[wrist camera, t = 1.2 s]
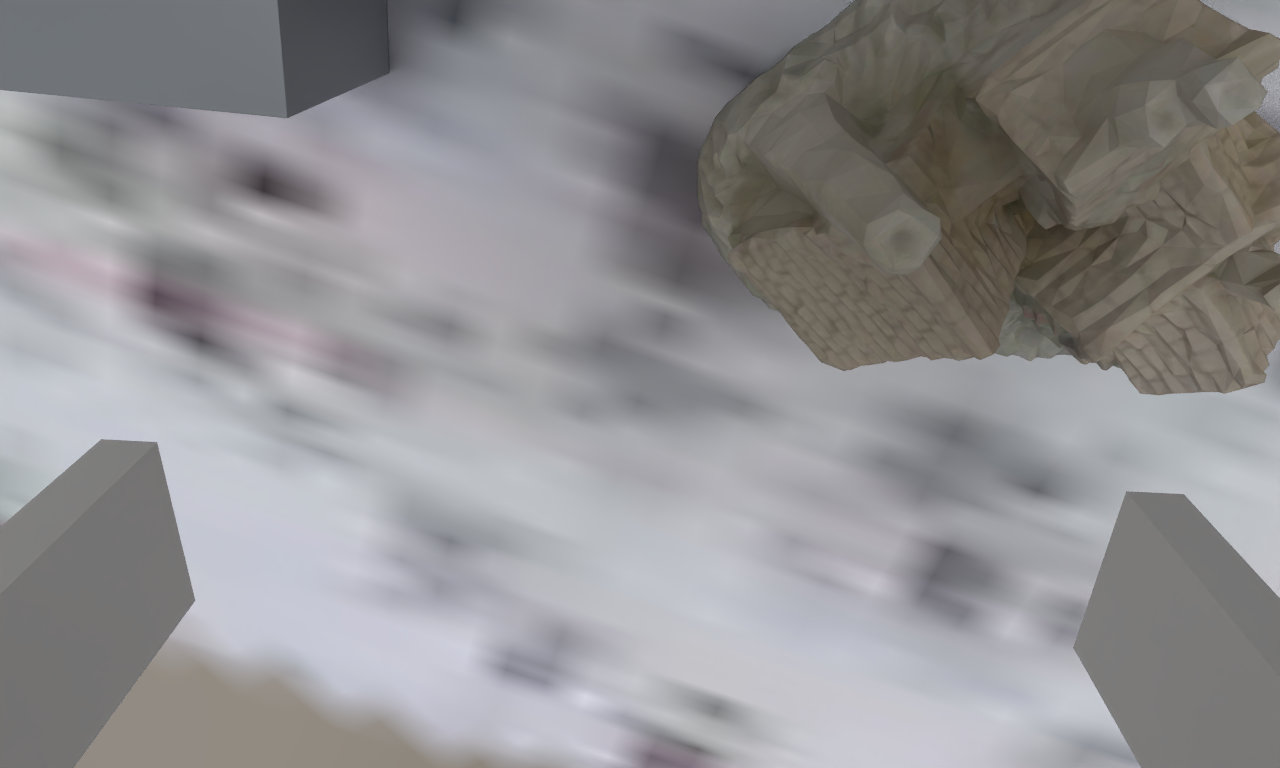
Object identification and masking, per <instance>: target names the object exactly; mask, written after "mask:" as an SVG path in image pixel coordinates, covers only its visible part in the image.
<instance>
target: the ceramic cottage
mask: <svg viewBox="0 0 1280 768" xmlns="http://www.w3.org/2000/svg"><path fill="white" fill-rule="evenodd" d="M1279 60H1280V39H1279V38H1277V37H1275V36H1273V35H1272V34H1270V33H1266V32H1261V31H1256V30H1251V29H1248V28H1246V27H1244V26H1242V25H1240V24H1238V23H1237V22H1235V21H1233V20H1231V19H1229V18H1227V17H1226V16H1224V15H1222V14H1220V13H1219V12H1217V11H1215V10H1213V9H1212V8H1210V7H1208V6H1207V5H1205V4H1203V3H1202V2H1201V1H1200V0H855V1H854V2H853V3H851V4H850V5H849V6H848V7H847V8H846V9H845V10H844V11H842V12H840V13H839V15H838V16H837V17H836V18H834V19H833V20H832V21H831V22H830V23H829V24H827V25H826V26H825V27H824V28H822V29H821V30H819V31H818V32H816V33H814V34H812V35H810V36H809V37H807V38H806V39H805V40H803V41H802V42H800V43H799V44H798V45H796V46H794V47H793V48H792V49H791V51H790V52H789V53H788V54H787V55H786V56H785V57H784V58H783V60H782V61H780V62H779V63H777V64H776V65H775V66H773V67H772V68H770V69H769V70H768V71H766V72H765V73H764V74H761V75H760V76H758V77H757V78H756V79H755V80H754V81H753V82H752V83H751V84H750V85H749V86H748V87H747V88H746V89H745V90H744V91H742V92H741V93H740V94H739V95H737V96H736V97H735V98H734V99H732V100H731V101H730V102H728V103H727V104H726V105H725V107H724V108H723V109H722V110H721V112H720V113H719V114H718V115H717V116H716V118H715V120H714V122H713V124H712V127H711V129H710V131H709V134H708V136H707V138H706V140H705V142H704V144H703V146H702V148H701V149H700V152H699V155H700V157H698V160H697V162H698V180H697V198H698V203H699V208H700V209H701V211H702V221H701V224H702V225H703V226H704V228H705V230H706V231H707V232H708V234H709V235H710V237H711V238H712V240H713V242H714V243H715V245H716V247H717V248H718V250H719V252H720V254H721V255H722V257H723V258H724V260H725V261H726V263H727V264H728V265H729V266H730V267H731V268H732V269H733V270H734V272H735V273H736V274H737V275H738V277H739V278H740V279H741V280H742V282H743V283H744V284H745V285H746V287H747V288H748V289H749V291H750V292H751V293H752V295H753V296H756V297H759V298H761V299H762V300H763V302H764V303H765V304H766V305H767V307H768V308H770V309H774V310H777V311H779V312H780V313H781V314H782V316H783V317H784V318H785V320H786V321H787V323H788V324H789V325H790V326H791V328H792V329H793V330H794V331H795V333H796V334H797V335H798V336H799V338H800V339H801V340H802V341H803V342H804V343H805V344H806V345H807V346H808V347H809V348H810V350H811V351H812V352H813V353H814V354H815V355H816V357H817V358H818V359H819V360H820V361H821V362H822V363H825V364H827V365H830V366H833V367H835V368H838V369H840V370H843V371H845V370H852V369H854V368H857V367H859V366H863V365H872V364H879V363H884V362H886V361H893V362H898V361H904V360H909V359H912V358H916V357H920V356H922V357H928V358H929V359H930V360H936V359H940V358H950V359H954V360H958V361H960V360H964V359H968V358H973V357H975V358H977V359H980V360H981V359H983V358H986V357H988V356H990V355H993V354H994V353H996V354H999V355H1003V356H1009V355H1017V356H1020V357H1022V358H1024V359H1026V360H1029V361H1032V360H1033V359H1034V358H1035V357H1040V358H1052V357H1054V356H1055V355H1062V354H1066V355H1073V356H1074V357H1075V358H1076V359H1077V360H1078V361H1079V362H1080V363H1082V364H1087V363H1089V362H1091V363H1097V364H1098V365H1099V366H1100V368H1101V369H1102V370H1108V369H1109V368H1110V367H1112V366H1116V367H1118V368H1121V369H1122V370H1123V371H1124V372H1125V374H1126V375H1127V376H1128V378H1129V380H1130V381H1131V383H1132V384H1133V385H1134V386H1135V387H1136V389H1137V390H1138V391H1139V392H1140V394H1152V395H1163V394H1172V393H1194V392H1220V393H1228V392H1232V391H1236V390H1240V389H1243V388H1247V387H1250V386H1253V385H1257V384H1260V383H1263V382H1265V378H1266V374H1265V373H1264V372H1263V371H1264V370H1265V369H1266V368H1267V367H1268V366H1269V362H1268V359H1267V355H1268V354H1269V353H1270V352H1271V351H1272V350H1273V349H1274V348H1275V345H1276V342H1277V341H1278V340H1279V339H1280V255H1279V254H1278V253H1276V252H1274V244H1275V243H1277V242H1278V241H1279V240H1280V133H1279V132H1278V131H1277V130H1276V129H1275V128H1273V127H1272V126H1271V125H1270V124H1269V123H1267V122H1266V121H1265V120H1264V119H1263V118H1261V117H1260V116H1259V115H1258V114H1257V113H1256V112H1255V110H1256V109H1258V108H1259V107H1260V106H1261V104H1262V102H1263V100H1264V98H1265V96H1266V94H1267V91H1266V89H1265V88H1264V87H1263V86H1262V85H1261V80H1262V78H1263V77H1264V76H1265V75H1267V74H1269V73H1270V72H1272V71H1273V70H1275V69H1277V68H1278V65H1279Z"/></svg>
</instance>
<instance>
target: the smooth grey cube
mask: <svg viewBox="0 0 1280 768" xmlns="http://www.w3.org/2000/svg"><path fill="white" fill-rule="evenodd" d="M388 73H389V53H388V23H387V0H0V90H8V91H18V92H28V93H38V94H48V95H58V96H68V97H79V98H89V99H99V100H109V101H119V102H129V103H139V104H150V105H160V106H170V107H180V108H190V109H200V110H210V111H221V112H231V113H241V114H251V115H261V116H271V117H281V118H289V117H291V116H293V115H295V114H298V113H300V112H302V111H304V110H307V109H309V108H311V107H313V106H316V105H318V104H320V103H322V102H325V101H327V100H329V99H331V98H334V97H336V96H338V95H340V94H343V93H345V92H347V91H349V90H352V89H354V88H356V87H358V86H361V85H363V84H365V83H368V82H370V81H372V80H374V79H377V78H379V77H381V76H383V75H386V74H388Z"/></svg>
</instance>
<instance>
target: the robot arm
mask: <svg viewBox="0 0 1280 768" xmlns="http://www.w3.org/2000/svg"><path fill="white" fill-rule="evenodd" d="M194 601H195V598H194V594H193V590H192V586H191V581H190V577H189V573H188V569H187V565H186V561H185V557H184V552H183V548H182V544H181V540H180V536H179V532H178V527H177V523H176V519H175V515H174V511H173V507H172V503H171V498H170V494H169V490H168V486H167V482H166V478H165V473H164V469H163V465H162V461H161V457H160V453H159V449H158V444H157V442H142V441H122V440H102V439H101V440H100V441H99V442H98V443H97V444H96V445H94V446H93V447H92V448H91V449H90V450H89V451H87V452H86V453H85V454H84V455H83V456H82V457H81V458H79V459H78V460H77V461H76V462H75V463H74V464H73V465H71V466H70V467H69V468H68V469H67V470H66V471H64V472H63V473H62V474H61V475H60V476H59V477H58V478H56V479H55V480H54V481H53V482H52V483H51V484H50V485H48V486H47V487H46V488H45V489H44V490H43V491H41V492H40V493H39V494H38V495H37V496H36V497H35V498H33V499H32V500H31V501H30V502H29V503H28V504H27V505H25V506H24V507H23V508H22V509H21V510H20V511H18V512H17V513H16V514H15V515H14V516H13V517H12V518H10V519H9V520H8V521H7V522H6V523H5V524H4V525H2V526H1V527H0V768H74V766H75V765H76V764H77V762H78V761H79V760H80V758H81V757H82V756H83V754H84V753H85V751H86V750H87V749H88V747H89V746H90V745H91V743H92V742H93V740H94V739H95V738H96V736H97V735H98V734H99V732H100V731H101V729H102V728H103V727H104V725H105V724H106V723H107V721H108V720H109V718H110V717H111V715H112V714H113V713H114V711H115V710H116V709H117V707H118V706H119V705H120V703H121V702H122V700H123V699H124V698H125V696H126V695H127V693H128V692H129V691H130V689H131V688H132V687H133V685H134V684H135V683H136V681H137V680H138V678H139V677H140V676H141V674H142V673H143V671H144V670H145V669H146V667H147V666H148V665H149V663H150V662H151V661H152V659H153V658H154V656H155V655H156V654H157V652H158V651H159V650H160V648H161V647H162V645H163V644H164V643H165V641H166V640H167V639H168V637H169V636H170V634H171V633H172V632H173V630H174V629H175V628H176V626H177V625H178V623H179V622H180V621H181V619H182V618H183V617H184V615H185V614H186V612H187V611H188V610H189V608H190V607H191V606H192V604H193V603H194ZM1073 648H1074V649H1075V651H1076V653H1077V655H1078V657H1079V658H1080V660H1081V662H1082V664H1083V665H1084V667H1085V669H1086V671H1087V672H1088V674H1089V676H1090V678H1091V680H1092V681H1093V683H1094V685H1095V687H1096V688H1097V690H1098V692H1099V694H1100V695H1101V697H1102V699H1103V701H1104V703H1105V704H1106V706H1107V708H1108V710H1109V711H1110V713H1111V715H1112V717H1113V718H1114V720H1115V722H1116V724H1117V726H1118V727H1119V729H1120V731H1121V733H1122V734H1123V736H1124V738H1125V740H1126V741H1127V743H1128V745H1129V747H1130V749H1131V750H1132V752H1133V754H1134V756H1135V757H1136V759H1137V761H1138V763H1139V765H1140V766H1141V768H1280V598H1279V597H1278V596H1277V595H1276V594H1275V593H1274V592H1273V591H1272V590H1271V588H1270V587H1269V586H1268V585H1267V584H1266V583H1265V582H1264V581H1263V580H1262V579H1261V578H1260V576H1259V575H1258V574H1257V573H1256V572H1255V571H1254V570H1253V569H1252V568H1251V567H1250V566H1249V565H1248V563H1247V562H1246V561H1245V560H1244V559H1243V558H1242V557H1241V556H1240V555H1239V554H1238V553H1237V552H1236V550H1235V549H1234V548H1233V547H1232V546H1231V545H1230V544H1229V543H1228V542H1227V541H1226V540H1225V538H1224V537H1223V536H1222V535H1221V534H1220V533H1219V532H1218V531H1217V530H1216V529H1215V528H1214V527H1213V525H1212V524H1211V523H1210V522H1209V521H1208V520H1207V519H1206V518H1205V517H1204V516H1203V515H1202V514H1201V512H1200V511H1199V510H1198V509H1197V508H1196V507H1195V506H1194V505H1193V504H1192V503H1191V502H1190V500H1189V499H1188V498H1187V497H1186V496H1185V495H1184V494H1166V493H1147V492H1127V491H1126V494H1125V497H1124V500H1123V503H1122V506H1121V509H1120V512H1119V515H1118V518H1117V521H1116V523H1115V526H1114V529H1113V532H1112V535H1111V538H1110V541H1109V544H1108V547H1107V550H1106V553H1105V556H1104V559H1103V562H1102V565H1101V568H1100V571H1099V573H1098V576H1097V579H1096V582H1095V585H1094V588H1093V591H1092V594H1091V597H1090V600H1089V603H1088V606H1087V609H1086V612H1085V615H1084V618H1083V621H1082V623H1081V626H1080V629H1079V632H1078V635H1077V638H1076V641H1075V644H1074V647H1073Z"/></svg>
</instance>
